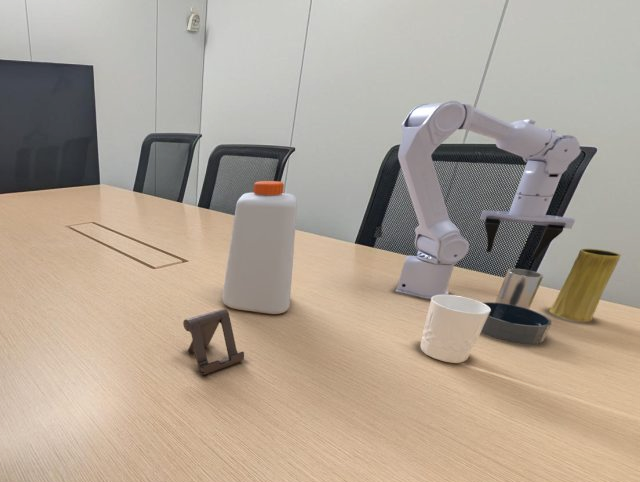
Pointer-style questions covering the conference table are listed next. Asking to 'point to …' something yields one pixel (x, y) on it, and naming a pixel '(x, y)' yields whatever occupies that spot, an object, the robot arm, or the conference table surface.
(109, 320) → the conference table surface
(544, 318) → the dark grey shallow bowl
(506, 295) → the silver cup
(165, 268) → the conference table surface
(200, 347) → the tablet stand
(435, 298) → the white cup
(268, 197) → the plastic bottle
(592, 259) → the vase
